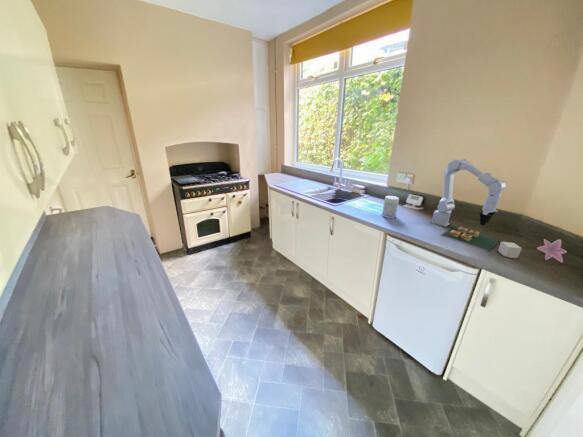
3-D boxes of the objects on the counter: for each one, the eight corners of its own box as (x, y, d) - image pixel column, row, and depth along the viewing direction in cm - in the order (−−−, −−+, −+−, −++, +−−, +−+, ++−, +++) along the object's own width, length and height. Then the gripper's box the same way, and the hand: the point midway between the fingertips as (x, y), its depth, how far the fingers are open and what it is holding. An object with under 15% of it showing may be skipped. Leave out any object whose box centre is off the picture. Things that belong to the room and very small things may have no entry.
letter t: (467, 234, 146) (469, 231, 145) (470, 233, 149) (471, 229, 148) (476, 237, 143) (477, 233, 142) (478, 235, 146) (479, 232, 145)
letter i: (456, 231, 151) (458, 228, 150) (459, 230, 153) (460, 226, 152) (464, 234, 148) (466, 230, 147) (467, 232, 150) (468, 228, 149)
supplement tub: (382, 213, 181) (386, 194, 176) (395, 215, 177) (399, 196, 172) (381, 217, 173) (384, 198, 168) (394, 219, 169) (398, 200, 164)
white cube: (509, 252, 127) (514, 242, 125) (517, 258, 122) (521, 248, 119) (497, 251, 128) (501, 241, 126) (504, 256, 123) (508, 246, 120)
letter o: (460, 238, 141) (461, 234, 140) (462, 236, 144) (464, 233, 143) (468, 241, 138) (470, 237, 137) (471, 239, 141) (472, 235, 140)
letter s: (449, 235, 146) (450, 231, 145) (451, 233, 148) (453, 229, 147) (457, 237, 142) (458, 233, 141) (459, 235, 145) (461, 232, 144)
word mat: (441, 235, 145) (441, 235, 145) (453, 228, 157) (453, 227, 157) (489, 251, 128) (489, 250, 128) (498, 241, 140) (499, 240, 140)
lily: (527, 256, 126) (541, 246, 118) (531, 242, 131) (546, 232, 124) (554, 270, 121) (571, 261, 113) (558, 255, 126) (574, 245, 119)
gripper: (497, 205, 128) (488, 228, 133) (503, 201, 137) (495, 222, 142) (481, 202, 133) (474, 224, 138) (488, 198, 142) (481, 219, 147)
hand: (483, 223), depth 141 cm, fingers open, 7 cm apart
